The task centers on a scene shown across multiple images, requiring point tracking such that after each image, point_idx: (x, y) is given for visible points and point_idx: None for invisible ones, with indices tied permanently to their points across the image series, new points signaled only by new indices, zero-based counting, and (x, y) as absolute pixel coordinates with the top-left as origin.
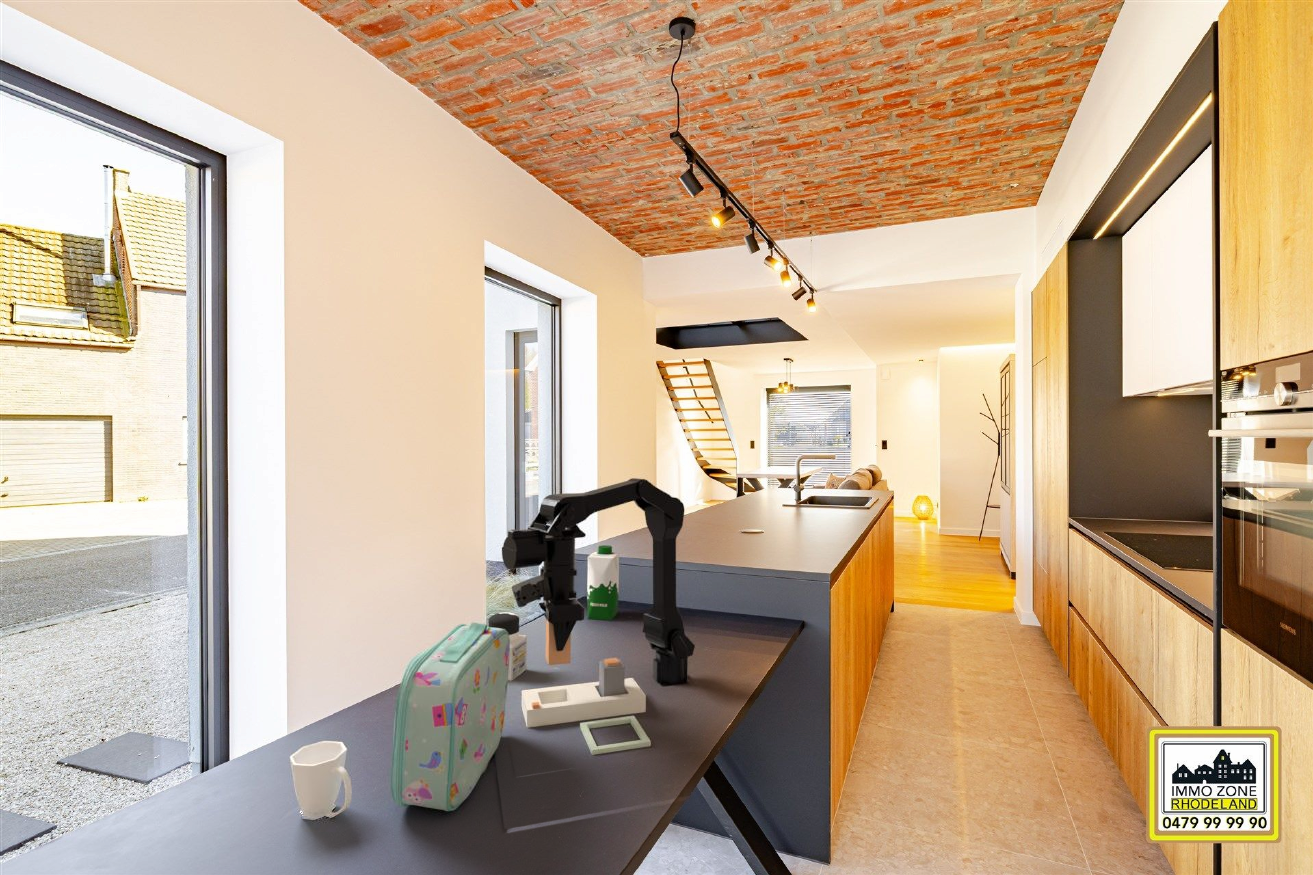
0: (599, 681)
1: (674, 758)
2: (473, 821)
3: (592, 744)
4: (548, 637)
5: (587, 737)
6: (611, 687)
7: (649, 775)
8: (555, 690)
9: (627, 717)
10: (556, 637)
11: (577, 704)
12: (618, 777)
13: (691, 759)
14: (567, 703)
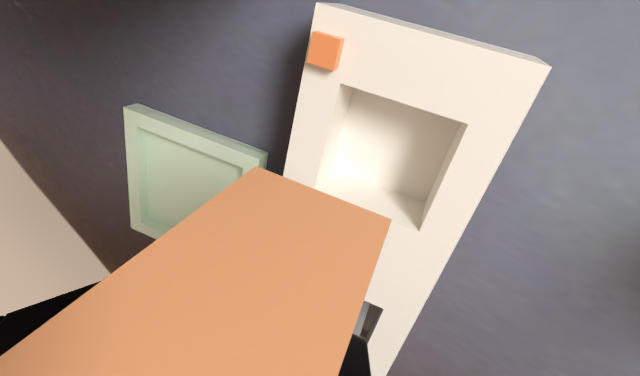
0: (357, 324)
1: (105, 227)
2: None
3: (145, 122)
4: (141, 288)
5: (180, 131)
6: None
7: (65, 159)
8: (435, 194)
9: None
10: (43, 310)
11: None
12: (65, 108)
13: (98, 244)
14: (300, 168)
